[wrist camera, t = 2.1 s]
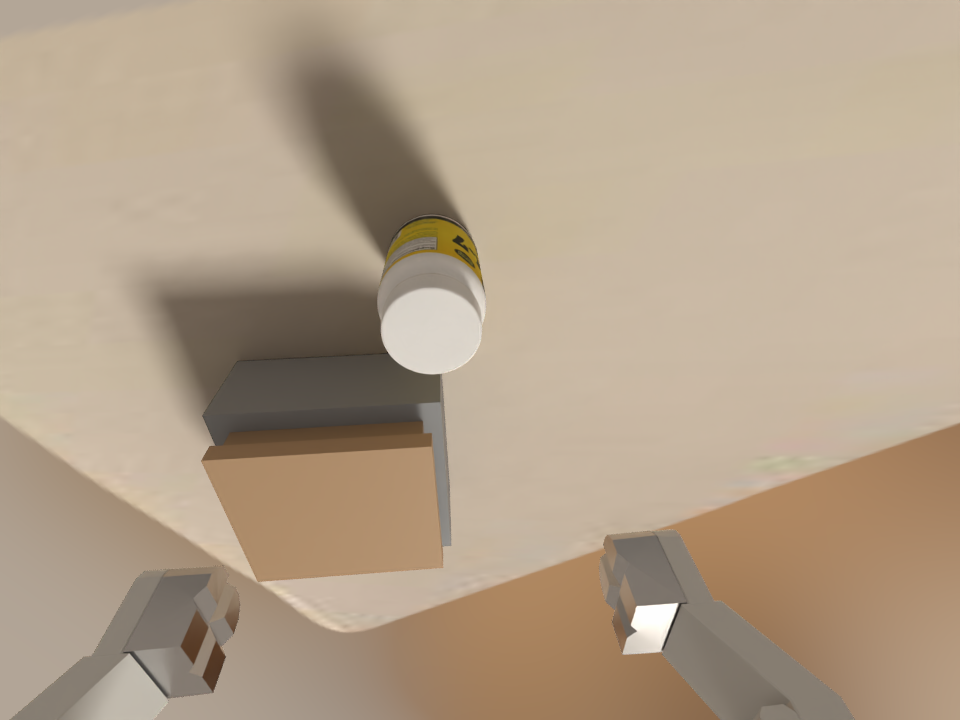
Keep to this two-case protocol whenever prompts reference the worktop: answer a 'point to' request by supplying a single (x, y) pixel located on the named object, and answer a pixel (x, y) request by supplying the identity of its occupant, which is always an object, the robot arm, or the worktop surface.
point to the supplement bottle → (431, 296)
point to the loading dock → (333, 402)
